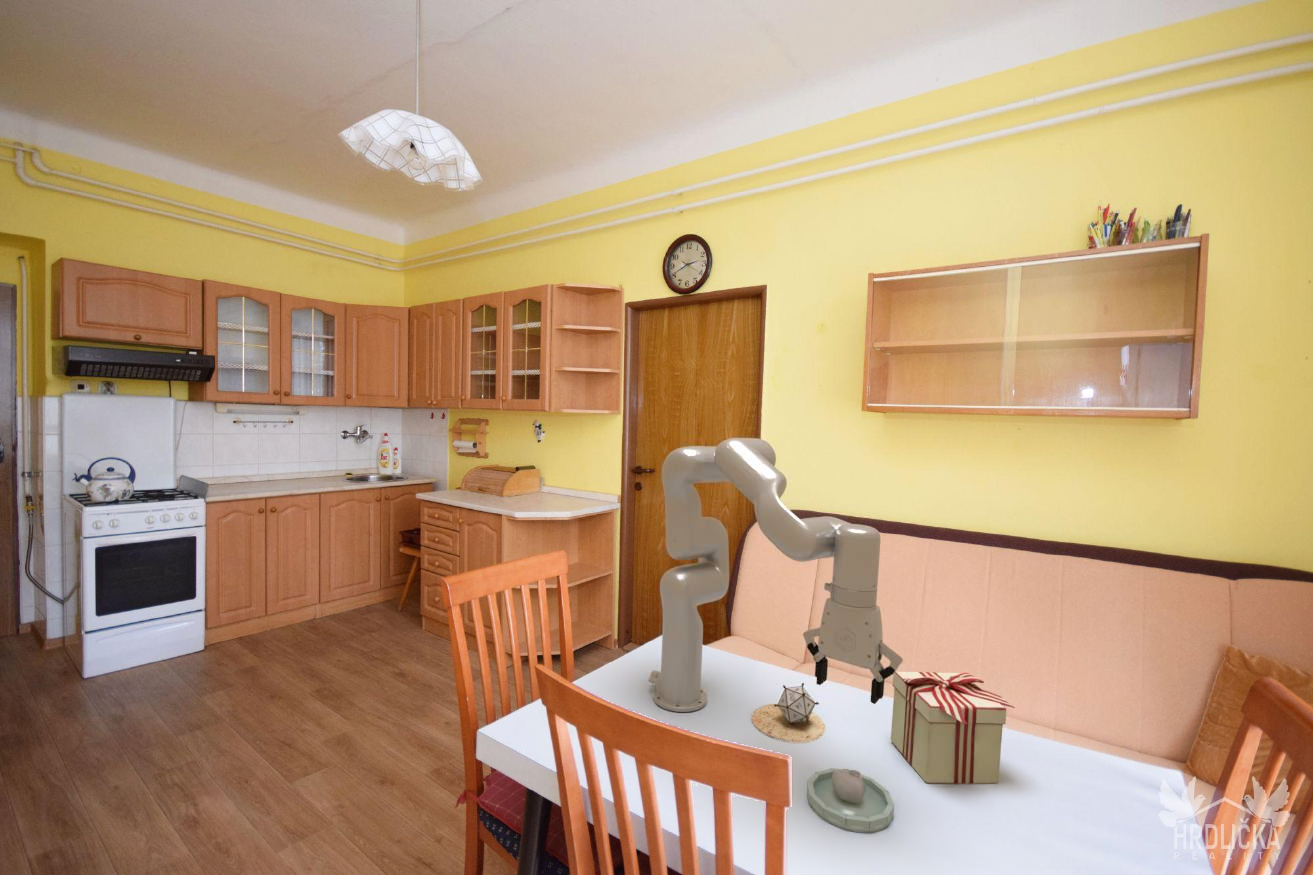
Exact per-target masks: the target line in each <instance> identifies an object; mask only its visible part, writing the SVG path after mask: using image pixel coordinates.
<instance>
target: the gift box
mask: <svg viewBox="0 0 1313 875" xmlns="http://www.w3.org/2000/svg"><path fill="white" fill-rule="evenodd" d="M976 683H980V684H984V683H985V681H984V680H982V679H980V678H978V677H977V676H975V675H973V674H971V673H969V672H962V673H961V672H943V671H942V672H939V671H938V672H937V671H936V672H935V671H934V672H933V671H932V672H931V671H895V672H894V673H893V674H892V686H893V688H894V690H893V701H892V702H893V703H892V705H893V706H892V715H891V716H892V718H891V730H890V741H891V742H892V744H893V745H894V746H895V747H896V749H898V751H899V752H900V753H901V755H902V756H903V757H904V758H905V760H906V761H907V762H908V763H909V764H910V766H911V768H913V769H914V771H916V773H917V774H918V776H920V778H921V779H922V780H923V781H924V783H926V784H949V785H950V784H952V785H953V784H954V785H959V784H963V785H964V784H966V785H967V784H968V785H969V784H971V785H973V784H976V785H977V784H978V785H979V784H980V785H992V784H993V785H994V784H996V785H997V784H999V778H1000V766H1001V765H1000V764H1001V755H1002V754H1001V752H1002V751H1001V750H1002V740H1003V725H1006V723H1007V722H1006V721H1007V708H1006V707H1010V708H1013V709H1016V707H1015V706H1013V705H1012V704H1011V703H1009V702H1008V701H1006V700H1005V699H1004V698H1003V697H1002V696H1001V695H998V694H996V693H993V692H991V691H987V690H985V689H982V688H981V687H979V686H978V685H976ZM1005 706H1006V707H1005Z"/></svg>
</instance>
